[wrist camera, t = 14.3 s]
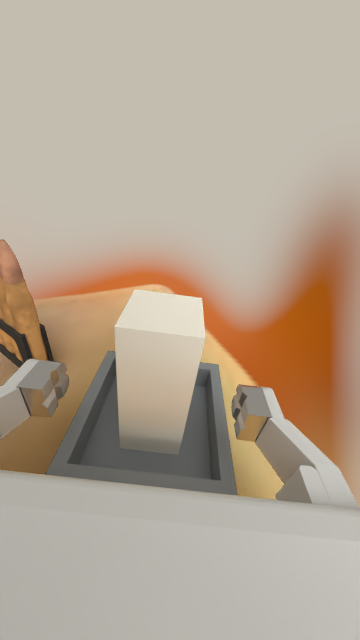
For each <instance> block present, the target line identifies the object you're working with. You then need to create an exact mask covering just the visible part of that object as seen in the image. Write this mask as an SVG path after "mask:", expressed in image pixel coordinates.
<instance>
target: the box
mask: <svg viewBox="0 0 360 640" xmlns="http://www.w3.org/2000/svg"><path fill="white" fill-rule="evenodd" d="M45 475H54V476H63V477H72V478H81V479H90V480H100V481H109V482H118V483H127V484H136V485H146V486H155V487H164V488H173V489H182V490H191V491H201V492H210V493H219V494H228V495H237V490H236V483H235V476H234V469H233V462H232V455H231V448H230V441H229V435H228V428H227V421H226V414H225V407H224V400H223V393H222V386H221V379H220V373H219V366H218V365H217V364H210V363H202V362H200V364H199V368H198V372H197V377H196V381H195V385H194V390H193V394H192V398H191V403H190V407H189V411H188V416H187V420H186V424H185V429H184V433H183V437H182V442H181V446H180V450H179V455H174V454H165V453H156V452H148V451H139V450H130V449H122V448H120V440H119V417H118V395H117V373H116V352H114V351H108V352H107V354H106V356H105V358H104V360H103V362H102V364H101V366H100V368H99V370H98V372H97V374H96V376H95V378H94V380H93V382H92V383H91V385H90V387H89V389H88V391H87V393H86V395H85V397H84V399H83V401H82V403H81V405H80V407H79V409H78V411H77V413H76V415H75V417H74V419H73V421H72V423H71V425H70V427H69V429H68V431H67V433H66V435H65V437H64V439H63V440H62V442H61V444H60V446H59V448H58V450H57V452H56V454H55V456H54V458H53V460H52V462H51V464H50V466H49V468H48V470H47V472H46V474H45Z"/></svg>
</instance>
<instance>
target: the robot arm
mask: <svg viewBox="0 0 360 640" xmlns="http://www.w3.org/2000/svg"><path fill="white" fill-rule="evenodd" d="M65 371H66V365H65V364H64V363H59V362H52V361H45V360H37V359H29V360H27V361H26V362H25V363H24V364H23V365H22V366H21V367H20V368H19V369H18V370H17V371H16V372H15V373H14V374H13V375H12V376H11V377H10V378H9V380H8V381H7V382H6V383H5V384H4V385H3V386H0V439H2V438H3V437H4V436H6V435H7V434H8V433H10V432H11V431H12V430H14V429H15V428H16V427H18V426H19V425H20V424H22V423H23V422H24V421H26V420H27V419H28V418H30V416H37V417H48V418H50V417H51V416H52V414H53V412H54V411H55V409H56V408H57V406H58V399H60V398H61V397H63V396H64V394H65V393H66V391H67V388H68V385H69V378H68V376H67V375H66V374H65V373H64V372H65ZM236 391H237V394H236V395H235V396H234V397H233V400H232V406H231V407H232V416H233V417H234V419H235V420H236V422H235V424H234V427H235V433H236V438H237V439H238V440H245V441H252V442H255V443H256V445H257V446H258V448H259V449H260V451H261V452H262V453H263V455H264V456H265V458H266V459H267V460H268V462H269V463H270V465H271V466H272V468H273V469H274V470H275V472H276V473H277V475H278V476H279V477H280V479H281V480H282V482H283V483H284V486H283V487H282V488H281V489H280V490H279V492H278V493H277V494H276V499H277V500H274V499H265V498H256V497H247V496H237V495H228V494H219V493H210V492H201V491H191V490H182V489H173V488H164V487H155V486H146V485H136V484H127V483H118V482H109V481H100V480H90V479H81V478H72V477H63V476H54V475H44V474H35V473H26V472H17V471H7V470H0V640H360V508H359V506H358V504H357V502H356V501H355V498H354V496H353V495H352V493H351V491H350V489H349V487H348V485H347V483H346V481H345V479H344V477H343V475H342V473H341V471H340V470H339V468H338V467H337V466H336V465H335V464H334V463H333V462H331V460H330V459H329V458H327V457H326V456H325V455H324V454H323V453H322V452H321V451H320V450H319V449H318V448H317V447H316V446H315V445H314V444H313V443H312V442H311V441H310V440H309V439H308V438H307V437H305V436H304V435H303V434H302V433H301V432H300V431H299V430H298V429H297V428H296V427H295V426H294V425H293V424H292V423H291V422H290V421H289V420H286V419H284V416H283V414H282V412H281V409H280V407H279V404H278V402H277V399H276V397H275V394H274V392H273V390H272V389H271V388H265V387H257V386H249V385H240V384H239V385H238V387H237V389H236Z"/></svg>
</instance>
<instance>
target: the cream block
mask: <svg viewBox="0 0 360 640" xmlns="http://www.w3.org/2000/svg"><path fill="white" fill-rule="evenodd" d="M114 329H115V351H116V373H117V395H118V417H119V440H120V448H122V449H130V450H139V451H148V452H156V453H165V454H174V455H179V450H180V446H181V442H182V437H183V433H184V429H185V424H186V420H187V416H188V411H189V407H190V403H191V398H192V394H193V390H194V385H195V381H196V377H197V372H198V368H199V364H200V359H201V355H202V351H203V346H204V342H205V328H204V317H203V305H202V298H196V297H189V296H182V295H174V294H167V293H159V292H152V291H144V290H137V289H135V290H134V292H133V294H132V296H131V297H130V299H129V301H128V303H127V305H126V307H125V308H124V310H123V312H122V314H121V316H120V317H119V319H118V321H117V323H116V325H115V326H114Z"/></svg>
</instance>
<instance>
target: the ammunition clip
mask: <svg viewBox="0 0 360 640" xmlns="http://www.w3.org/2000/svg"><path fill="white" fill-rule="evenodd" d="M0 352H1V353H2V354H4V355H5V356H6V357H7V358H8V359H9V360H11V361H12V362H13V363H14V364H15V365H17V366H18V367H19V368H20V367H21V366H22V365H23V364H24V363H25V362H26V361H27V360H29V359H37V360H45V361H52V362H54V360H53V357H52V353H51V349H50V346H49V342H48V338H47V334H46V331H45V327H44V326H43V325H42V324H40V323H39V320H38V316H37V313H36V309H35V305H34V301H33V298H32V296H31V294H30V292H29V291H28V288H27V285H26V282H25V280H24V278H23V274H22V271H21V268H20V265H19V263H18V261H17V258H16V256H15V255H14V253H13V251H12V250H11V248H10V246H9V245H8V244H7V243H6V242H5V240H0Z"/></svg>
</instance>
